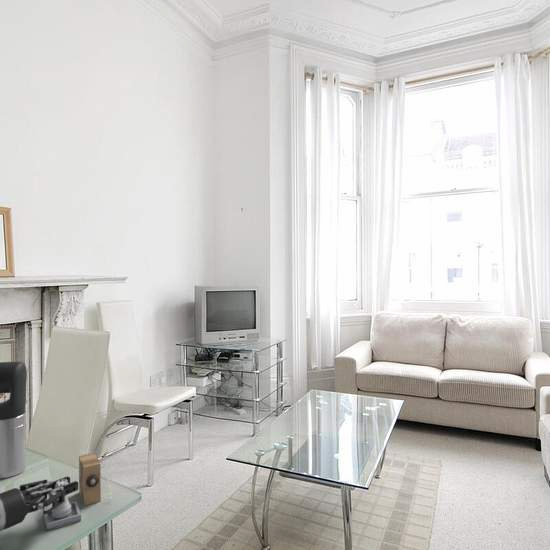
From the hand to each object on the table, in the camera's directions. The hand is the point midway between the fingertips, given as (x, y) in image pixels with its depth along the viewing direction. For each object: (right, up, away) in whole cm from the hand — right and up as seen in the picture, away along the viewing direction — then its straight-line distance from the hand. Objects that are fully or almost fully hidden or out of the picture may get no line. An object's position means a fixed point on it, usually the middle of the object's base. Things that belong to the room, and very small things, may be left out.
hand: (73, 482), depth 107 cm
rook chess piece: (-2, -7, -2) cm, 7 cm away
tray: (-2, -8, -2) cm, 8 cm away
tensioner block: (+1, -8, +8) cm, 11 cm away
